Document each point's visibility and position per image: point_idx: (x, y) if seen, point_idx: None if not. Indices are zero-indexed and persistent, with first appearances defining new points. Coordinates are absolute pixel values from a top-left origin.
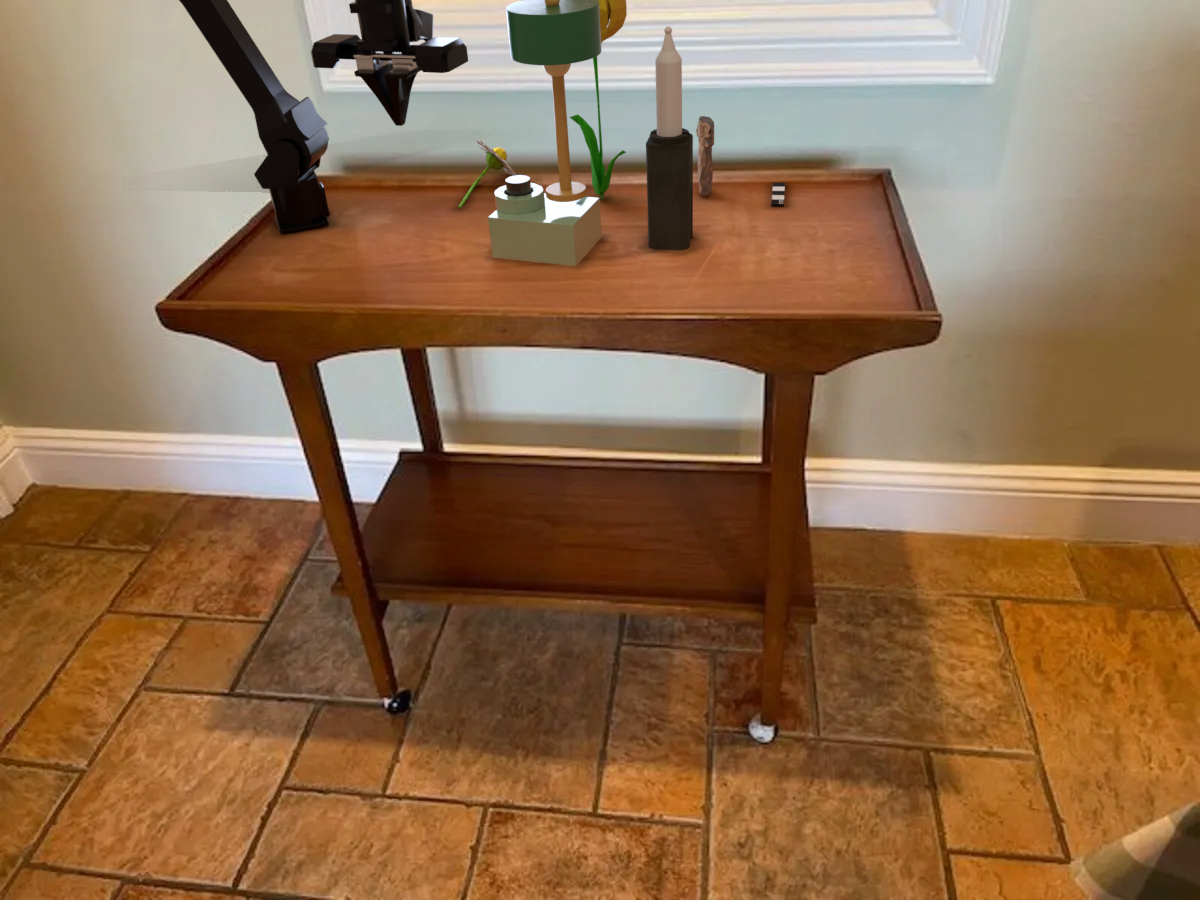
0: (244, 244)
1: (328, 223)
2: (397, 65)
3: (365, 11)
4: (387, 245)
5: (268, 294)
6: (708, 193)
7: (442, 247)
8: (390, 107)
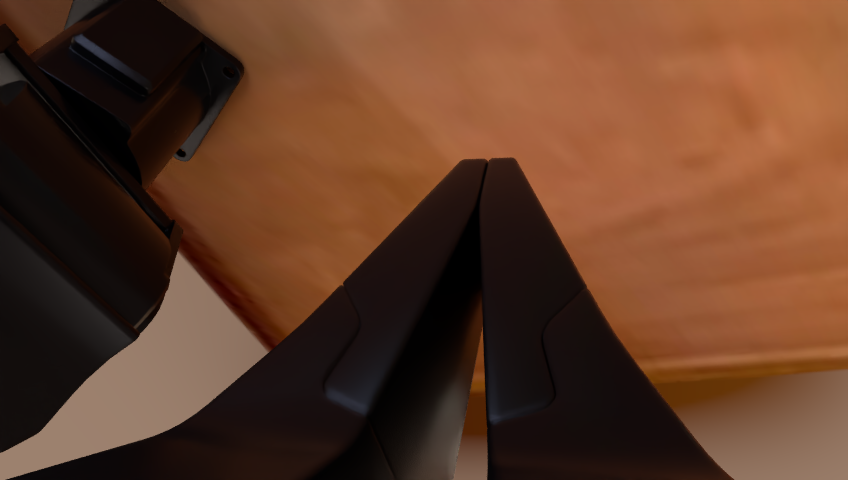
0: (171, 215)
1: (241, 67)
2: None
3: None
4: (530, 130)
5: None
6: None
7: (732, 95)
8: (473, 359)
